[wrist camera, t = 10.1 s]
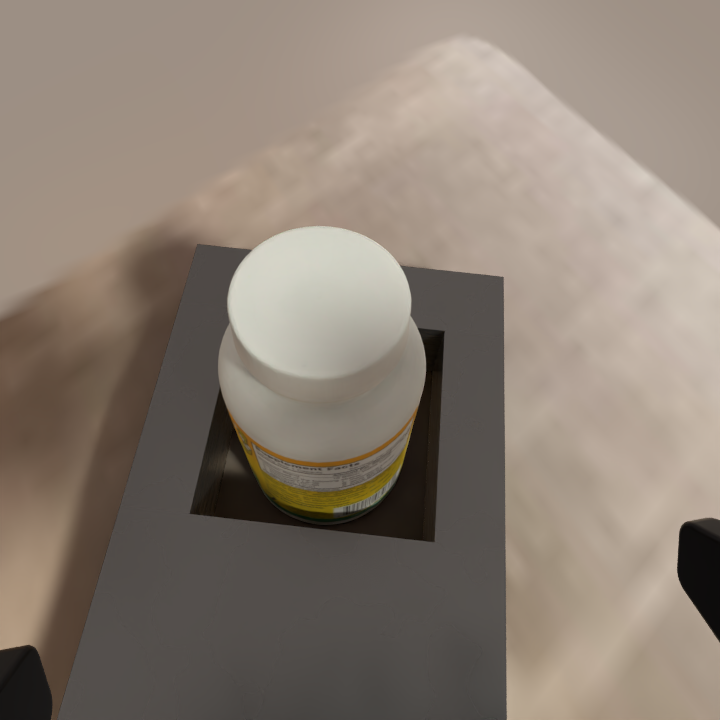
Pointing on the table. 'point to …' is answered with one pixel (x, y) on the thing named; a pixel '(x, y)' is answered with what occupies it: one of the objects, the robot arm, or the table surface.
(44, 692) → the robot arm
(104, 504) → the table surface
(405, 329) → the supplement bottle
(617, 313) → the table surface
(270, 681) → the grey slotted block
